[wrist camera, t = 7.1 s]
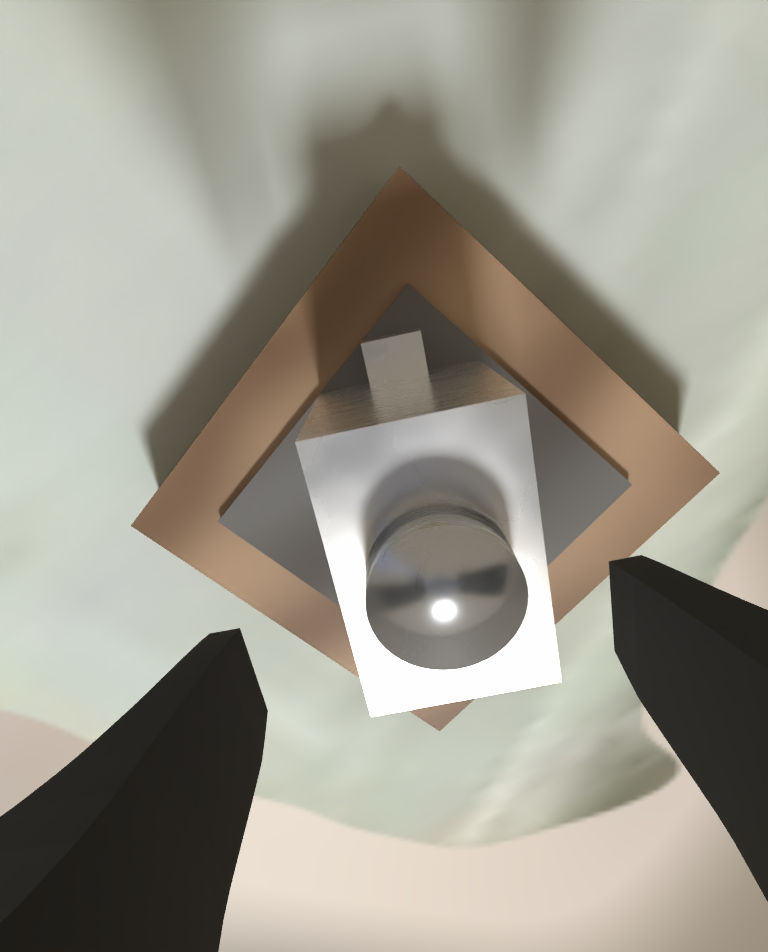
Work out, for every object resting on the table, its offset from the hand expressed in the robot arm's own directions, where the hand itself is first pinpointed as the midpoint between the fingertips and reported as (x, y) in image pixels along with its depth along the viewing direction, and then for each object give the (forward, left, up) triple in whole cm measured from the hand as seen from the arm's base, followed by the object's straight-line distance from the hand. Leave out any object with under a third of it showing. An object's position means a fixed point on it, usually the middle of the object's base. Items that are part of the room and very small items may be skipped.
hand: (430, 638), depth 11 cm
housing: (0, +1, -6) cm, 7 cm away
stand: (0, 0, -9) cm, 9 cm away
